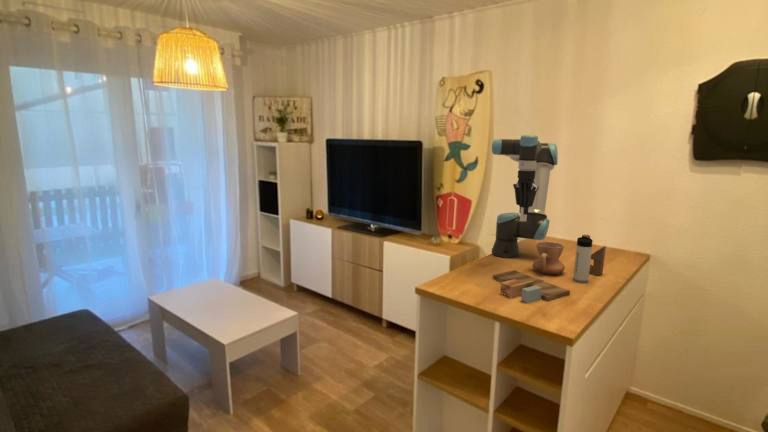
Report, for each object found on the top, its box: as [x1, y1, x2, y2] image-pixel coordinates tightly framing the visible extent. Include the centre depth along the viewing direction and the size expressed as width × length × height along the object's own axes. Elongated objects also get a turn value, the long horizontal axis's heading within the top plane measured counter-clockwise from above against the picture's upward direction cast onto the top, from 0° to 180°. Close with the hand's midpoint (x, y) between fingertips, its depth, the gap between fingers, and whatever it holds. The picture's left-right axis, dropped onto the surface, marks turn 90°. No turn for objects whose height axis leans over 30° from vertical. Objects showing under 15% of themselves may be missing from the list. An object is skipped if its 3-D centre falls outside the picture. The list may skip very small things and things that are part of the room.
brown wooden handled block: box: [500, 279, 535, 299], centre depth 171 cm, size 6×16×5 cm, turn 119°
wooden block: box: [581, 234, 607, 277], centre depth 196 cm, size 4×11×18 cm, turn 43°
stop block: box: [520, 285, 542, 304], centre depth 163 cm, size 3×8×5 cm, turn 120°
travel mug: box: [572, 235, 594, 284], centre depth 184 cm, size 6×7×20 cm
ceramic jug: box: [532, 240, 566, 276], centre depth 196 cm, size 18×14×14 cm
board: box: [492, 270, 571, 302], centre depth 178 cm, size 30×14×2 cm, turn 30°
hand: (523, 220), depth 188 cm, fingers closed
